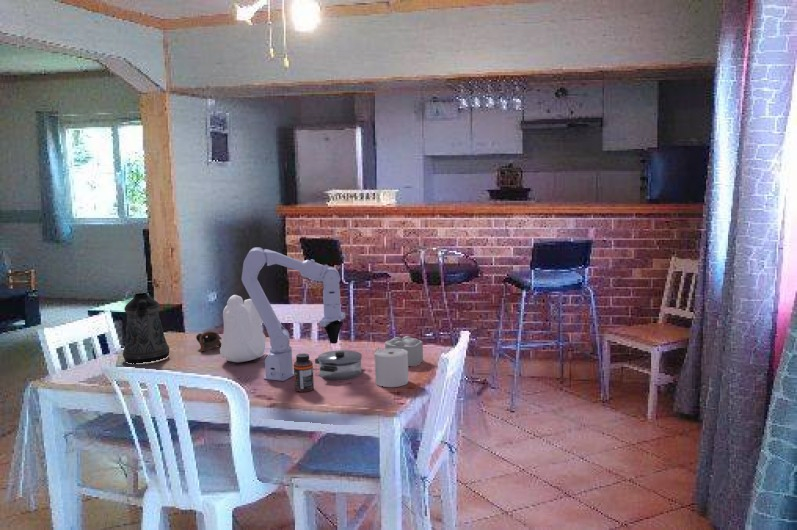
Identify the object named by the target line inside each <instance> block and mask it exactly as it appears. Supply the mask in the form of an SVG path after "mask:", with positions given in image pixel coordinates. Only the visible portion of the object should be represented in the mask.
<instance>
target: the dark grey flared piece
mask: <svg viewBox="0 0 797 530" xmlns="http://www.w3.org/2000/svg"><path fill="white" fill-rule="evenodd" d="M160 306H161V305H160V303H159V302H158V301H157V300H155V299H153V298H152V297H151V296H150V295H148V293H146V292H140V293H136V294H134V296H133V298H132V299H131V300H129V302H128V303H126V305H125V306H124V308H123V309H124V312H125V313H126V327H125V342H124V348H123V350H122V351H123V352H122V356H123V360H124V362H128V363H132V364H133V363H134V364H136V363H143V362H151V361H156V360H160V359H163V358H166V357H167V356H168V355H169V356H170V347H169V344H168V343H167V339H166V337H165V333H164V330H163V325H162V322H161V318H160V314H159V313H160V312H159V310H160Z"/></svg>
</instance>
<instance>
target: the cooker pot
mask: <svg viewBox="0 0 797 530" xmlns="http://www.w3.org/2000/svg"><path fill="white" fill-rule="evenodd" d="M314 364H316V365H319V376H320V377H321V378H322V379H325V380H332V381H334V380H335V381H340V380H341V381H342V380H343V379H344V380H350V379H354V378H357V377H359V376H361V375H362V359H361V360H360V361H358V362H356V363H352V364H346V365H328V364H323V363H321V362H319V361H318V357H316V358H314ZM356 376H357V377H356ZM353 377H354V378H353Z"/></svg>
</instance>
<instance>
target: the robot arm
mask: <svg viewBox="0 0 797 530" xmlns="http://www.w3.org/2000/svg"><path fill="white" fill-rule="evenodd" d="M265 264H266V266H267V267H268V266H272V265H273V266H274V265H279V266H283V267H285V268H289V269H292V270H295V271H298V272H299V273H300V276H301V277H304V278H306V279H310V280H312V281H316V282H319V283H320V282H322V283H323V291H322V296H323V317H322V318H321V319H320V320H319V327H323V328H324V330H325V332H326V334H327V337H328V341H329V344H334V345H336V344H337V343H338V340H339V335H340V333H341V329H342V327H343V325H344V321H342V320H344V319H346V311H345V312H343V311H342V308H341V307H342V306H341V290H340V288H341V286H340V282H341V276H340V273H339V271H338V270H337V269H336V268H334V267H333V266H329V265H328V264H320V263H318V262H316V261H315V259H313V258H312V259H310V260H309V259H306V260H303V261H301V260H298V259H296V258H293V257H291V256H287V255H285V254H282V253H281V252H278V251H274V250H271V249H267V248H264V249H263V248H262V247H258V246H257V247H256V246H255V247H253V248H251V249H250V250H249V251H248V253H247V254H246V256H245V258H244V260H243V264H242V272H241V282H242V284H243V286H244V287H245V290H246V293H247V294H248V296H249V299H251V300H252V302H253V304H254V306H255V307H256V309H257V311H258V313H259V315H260V317H261V319H262V324H263V325H264V328H265V330H266V332H267V334H268V337H269V339H270V340H269V341H270V342H269V344H270V347H269V354H268V355H267V356H266V357H265V360H264V369H265V370H264V371H265V376H264V377H263V379H264V380H271V381H282V382H283V381H287V380H288V379H290V378H292V377H294V364H293V347H291V346H290V345H291V344H290V339H291V334H290V332H289V330H288V329H286V328H285V327H284V326H283V324H282V323H281V321H280V320H279V318H278V316H277V314H276V313H275V310H274V309H273V307H272V305H271V303H270V300H269V299H268V297H267V296H266V295H267V294H265V291H264V289H263V287H262V286H261V284H260V281H259V280H258V276H259V274H260V271H261V270H262V268H263V267H264V266H265Z"/></svg>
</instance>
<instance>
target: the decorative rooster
mask: <svg viewBox="0 0 797 530" xmlns="http://www.w3.org/2000/svg"><path fill="white" fill-rule="evenodd" d="M222 318H223V319H222V320H223V335H222V337H221V338H222V339H221V347H219V348H220V349H219V354H220V356H221V357H222V358H225V359H226V361H228V362H232V363H244V362H248V361H253V360H256V359H259V358H260V357H262V356H264V353H265V350H266V338H267V336H266V335H265V334H264V332H263V330H264V329H263V321H262V319H261V317H260V315H259V313H258V311H257V309H256V307H255V306H254V304H253V302H252V300H251V298H248V299H244V300H243V297H242V296H240V295H237V294H233V295H231V296H230V297H229V298H228V299H227V302H226V305H225V307H224V308H223V311H222Z"/></svg>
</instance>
